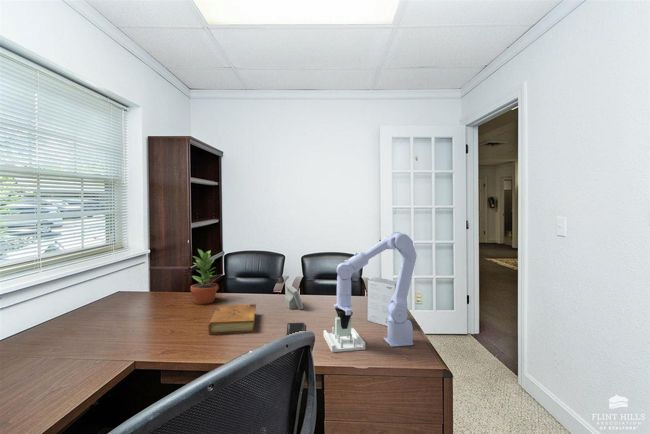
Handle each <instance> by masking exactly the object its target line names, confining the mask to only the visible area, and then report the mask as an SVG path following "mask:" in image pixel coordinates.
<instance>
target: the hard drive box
mask: <svg viewBox="0 0 650 434" xmlns="http://www.w3.org/2000/svg"><path fill="white" fill-rule="evenodd" d="M366 281H367V284H366V285H367V295H366V296H367V297H366V298H367V302H366V303H367V306H366V307H367V308H366V311H367V313H366V314H367V315H366V316H367V318H366V320H367V321H368V322H372V323H373V324H374V323H375V324H379V325H382V326H385V327H388V317H389V313H388V311H387V305H388V304H389V303H390V301H391V298H392V296H393V295H394V292H395V288H396V284H397V280H393V279H389V278H383V277H382V278H381V277H376V276H375V277H373V278H368V279H367V280H366Z"/></svg>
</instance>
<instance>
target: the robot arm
mask: <svg viewBox="0 0 650 434" xmlns="http://www.w3.org/2000/svg"><path fill="white" fill-rule="evenodd" d="M386 250H397V251H398V252H399V254H400V255H401V257H402V258H401V263H400V267H399V270H398V271H399V272H398V275H397V280H396V281H397V284H396V288H395V292H394V295H393V296H392V298H391V301H390V303H389V304H388V305H387V311H388V313H389V317H388V326H387V335H386V336H387V337H383V340H384V341H385V342H386V343H387V344H388V345H389V346H390V347H391V348H393V347H394V348H395V347H403V346H404V347H405V346H413V345H414V342H413V337H414V331H413V330H414V328H413V324H412V322H411V320H410V319H408V316H409V315H408V301H407V300H408V295H409V290H410V287H411V286H410V285H411V282H412V277H413V273H414V269H415V265H416V260H417V252H416V249H415V246H414V241H413V240H412V238H411V237H410V236H409V235H407V234H406V233H402V232H399V231H396V232H393V233H391V235H387V236H386V237H384V238H383V239H381V240H379V242H377V243H376V244H374V245H372V247H370V248H368V249H367V250H366V251H365V252H362V251H359V252H357V251H356V252H354V253H353V256H351V257H349V258H348V259H345V260H344V262H341V263H339V264H337V267H336V269H335V270H336V273H337V277H336V280H337V281H336V302H335V303H334V304H333V308H334V309H335V311H336V314H337V317H340V320H341V327H342V329H347V328H348V324H349V320H350V318H352V316H353V311H352V280H351V279H352V276H353V273H356V272H358V271H360V270H361V269H362V268H364V267H365V266H367V265H368V264H369V260H370V259H372V258H374V257H376V256H377V255H379V254H380V253H382V252H384V251H386Z"/></svg>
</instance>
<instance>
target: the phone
mask: <svg viewBox="0 0 650 434" xmlns="http://www.w3.org/2000/svg"><path fill="white" fill-rule="evenodd" d="M286 326H287V327H286V336H287V335H289V334H292V333H295V332H299V331H305V332H306V325H305V322H288V323H287V324H286Z"/></svg>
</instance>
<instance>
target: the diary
mask: <svg viewBox="0 0 650 434" xmlns="http://www.w3.org/2000/svg"><path fill="white" fill-rule="evenodd" d="M256 307H257V304H255V303H254V304H234V305H233V304H231V305H228V304H227V305H218V306H217V307H216V309H215V310H214V313H213V315H212V316H211V318H210V320H209V323H207V324H208V326H207V327H208V332H207V333H208V334H209V335H222V334H240V333H243V334H244V333H254V331H255V325H256V317H257V314H256Z"/></svg>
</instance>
